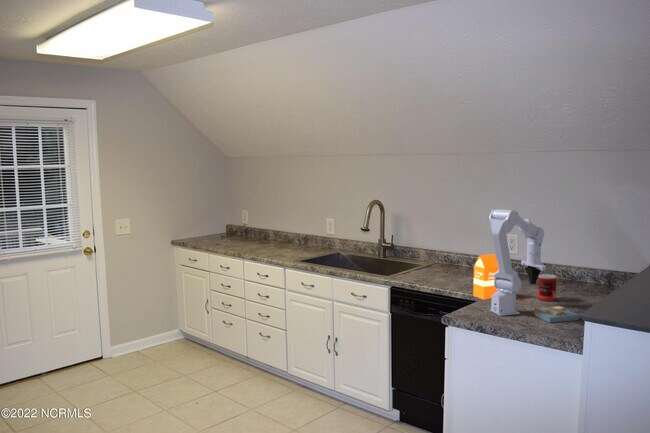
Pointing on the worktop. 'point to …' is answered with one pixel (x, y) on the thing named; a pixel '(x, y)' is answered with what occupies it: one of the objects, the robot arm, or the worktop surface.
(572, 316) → the dock
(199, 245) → the worktop surface
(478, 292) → the orange juice
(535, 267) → the robot arm
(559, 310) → the t block
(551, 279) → the canned food
